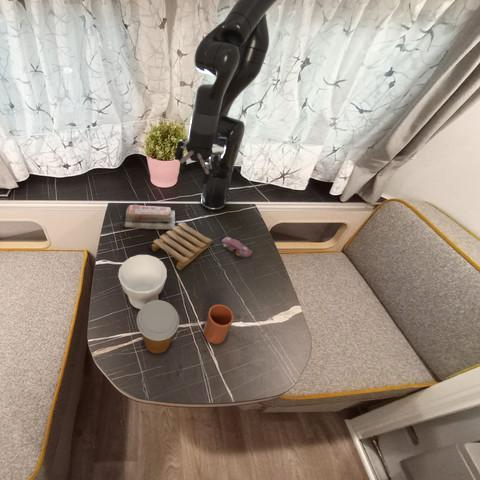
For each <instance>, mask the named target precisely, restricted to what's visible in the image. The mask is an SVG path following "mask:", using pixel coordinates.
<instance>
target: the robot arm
mask: <svg viewBox="0 0 480 480" xmlns="http://www.w3.org/2000/svg"><path fill="white" fill-rule="evenodd" d="M277 1H278V0H237V1H236V3H235V4H234V5H233V7H232V8H231V9H230V11H229V13H228V14H227V15H226V17H225V19H224V20H223V21H222V22H220V23H219V24H218V25H216V26H215V27H214V28H213V29H212V30H211V31H209V32H208V33H207V34H206V35H205V36H204V37H203V38H202V40H200V42H199V44H198V45H197V47H196V50H195V53H194V58H193V61H194V67H195V68H196V70H197V71H198V72H200V73H202V74H206V75H209V76H213V77H215V80H214V82H213V84H212V83H207V84H206V83H204V84H201V85H199V86H198V87H197V89H196V93H195V98H194V105H193V110H192V114H191V118H190V122H189V124H190V125H189V129H188V130H189V131H188V137H187V142H186V139H183V138H182V139H180V140H179V141H177V146H176V149H175V150H176V151H175V154H174V155H175V156H174V159H175V160H177V161H179V168H178V172H179V174H180V175H184V174H185V173H186V170H187V164H188V163H187V161H188V160H189V159H190V161H192V162H195V163H197V164H200V165H201V168H202V169H203V170H204V175H203V180H202V184H203V189H202V193H201V195H200V199H201V200H200V204H201V206H202V207H203V208H205V209H207V210H210V211H220V210H222V209H223V208H224V207H225V205H226V202H227V198H228V193H229V190H230V185H231V179H232V176H233V171H234V168H235V163H236V161H237V158H238V156H239V152H240V148H241V145H242V142H243V138H244V135H245V132H246V131H245V129H246V126H245V122H244V121H242V120H240V119H237V118H233V117H230V116H228V115H229V114H230V113H229V112H230V110H231V108H232V106H233V105H234V102H235V101H236V99H237V98H238V97H239V96H240V95H241V94H242V93H243V91H245V90H246V89H247V88H248V87H249V86H250V85H251V84H252V83H253V82H254V80H255V79H256V78H257V77H258V76H259V75H260V72H261V70H262V68H263V65H264V62H265V59H266V57H267V53H268V50H269V47H270V36H269V35H270V33H269V26H268V20H267V14H266V13H268V11H269V10H270V9H271V8H272V6H273V5H275V4H276V2H277ZM214 145H215V146H218V147H220V148H223V149H224V150H220V151H215V152H214V151H213V147H214ZM185 150H186V152H187V153H186V154H185V155H184V151H185ZM183 155H184V156H183Z"/></svg>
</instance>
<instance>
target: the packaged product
mask: <svg viewBox="0 0 480 480" xmlns="http://www.w3.org/2000/svg"><path fill="white" fill-rule="evenodd" d="M174 226H176V210H172V209H171V206H155V205H154V206H153V205H141V204H140V205H139V204H129V205H128V206H127V208H126V209H125V220H124V227H125V228H134V229H145V230H168V231H169V230H171V231H172V228H173V227H174Z"/></svg>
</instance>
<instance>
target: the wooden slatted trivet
mask: <svg viewBox="0 0 480 480" xmlns="http://www.w3.org/2000/svg"><path fill="white" fill-rule="evenodd" d="M212 242H213V239H212V238H210V237H207V236H205V235H203V234H202V233H200V232H199V231H197V230H195V229H194V228H193V227H190V226H189V225H188V224H187V223H186V222H182V221H180V222H179V223H177V225H175V226H174V227H173V228H172V230H168V231H166V232H165V233H163V234H162V235H160V236H159V238H156V239H154V240H153V243H152V244H151V250H152V251H153V252H157V251H159V250H160V249H161V250H163V251H165V253H167V254H168V255H169V256H171V257H172V258H174V259H175V260H176V261H178V262H177V263H176V268H175V269H177V270H178V271H182V270H183V269H184V268H185V267H186V266H187V265H189V264H190V263H192V261H193V260H194V259H196V258H197V257H198V256H199V255H201V254H202V253H203V252H204V251H205V250H206V249H207V248H209V247H210V246H211V245H212ZM178 252H179V253H178Z"/></svg>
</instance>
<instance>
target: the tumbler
mask: <svg viewBox="0 0 480 480" xmlns="http://www.w3.org/2000/svg"><path fill="white" fill-rule="evenodd" d="M234 318H235V317H234V313H233V311H232V310H231V308H229V307H228V306H227V305H224V304H222V303H221V304H214V305H212V306H211V307H210V308H209V309H208V313H207V316H206V319H205V324H204V326H203V331H202V332H203V336H204V338H205V339H206V340H207V342H208V343H211V344H215V345H218V344H222V343H223V342H224V341H225V340H226V338H227V336H228V334H229V332H230V329H231V328H232V324H233V322H234Z"/></svg>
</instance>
